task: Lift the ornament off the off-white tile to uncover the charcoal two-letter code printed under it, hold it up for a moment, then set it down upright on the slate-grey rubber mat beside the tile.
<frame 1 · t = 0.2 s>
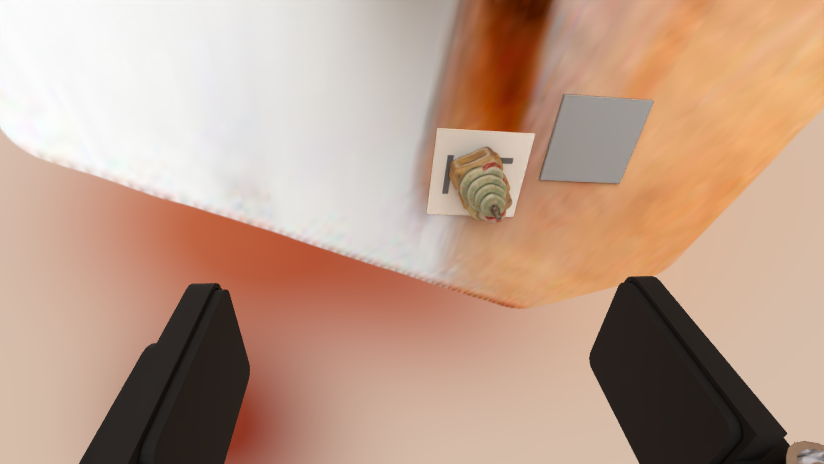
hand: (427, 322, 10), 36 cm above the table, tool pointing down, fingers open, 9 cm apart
grey mat: (592, 141, 48), on the table
code tile: (477, 175, 49), on the table
ornament: (477, 175, 49), resting on code tile
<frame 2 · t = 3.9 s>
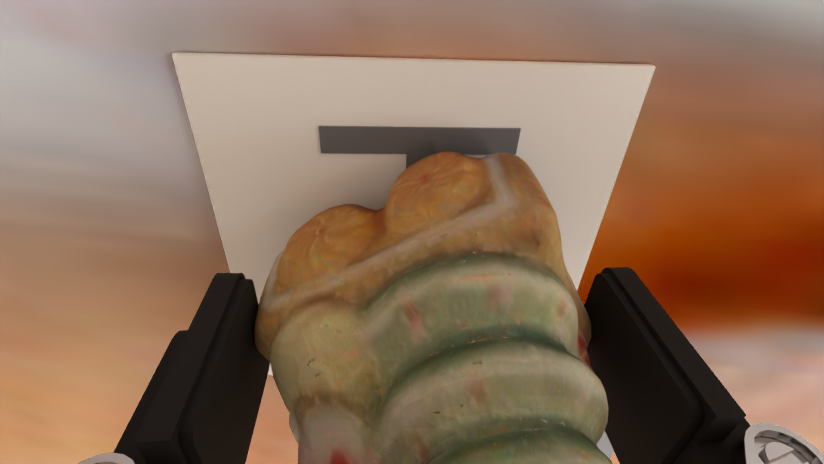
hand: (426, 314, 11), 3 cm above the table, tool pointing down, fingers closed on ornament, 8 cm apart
code tile: (414, 249, 13), on the table
ornament: (414, 251, 13), resting on code tile, touching gripper
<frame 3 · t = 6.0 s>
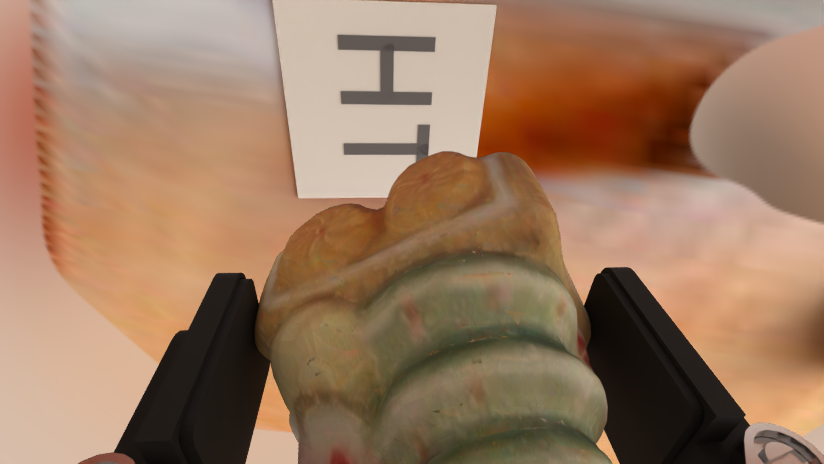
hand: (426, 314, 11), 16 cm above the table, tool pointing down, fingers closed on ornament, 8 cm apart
code tile: (386, 111, 24), on the table
ornament: (414, 250, 13), point 13 cm above the table, touching gripper
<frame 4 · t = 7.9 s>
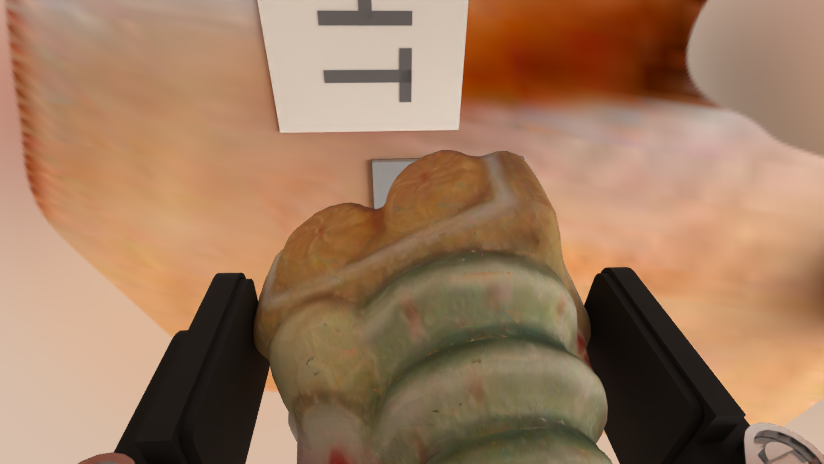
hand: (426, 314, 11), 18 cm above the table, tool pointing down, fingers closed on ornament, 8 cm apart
grey mat: (444, 221, 30), on the table
code tile: (366, 33, 23), on the table
ornament: (413, 250, 13), point 15 cm above the table, touching gripper
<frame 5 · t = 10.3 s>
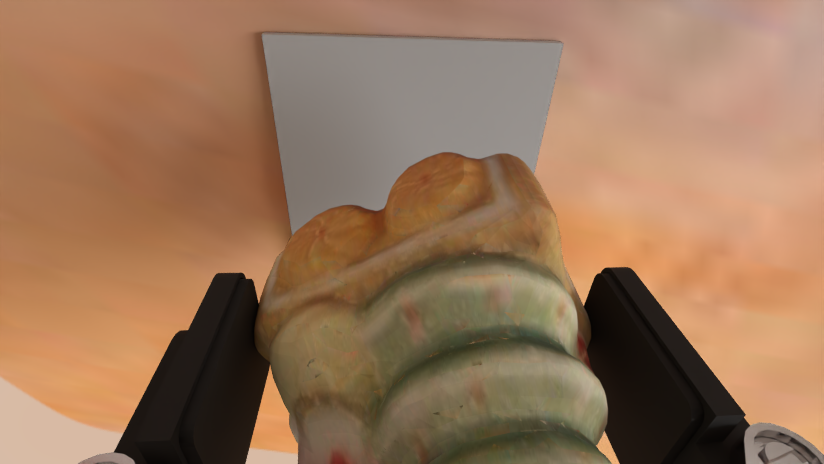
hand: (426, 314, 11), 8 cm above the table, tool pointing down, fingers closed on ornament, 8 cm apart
grey mat: (410, 170, 17), on the table
ornament: (414, 251, 13), point 5 cm above the table, touching gripper
when the fingers open (4 cm above the table, at t = 12.2 s): ornament drops 1 cm, resting on grey mat.
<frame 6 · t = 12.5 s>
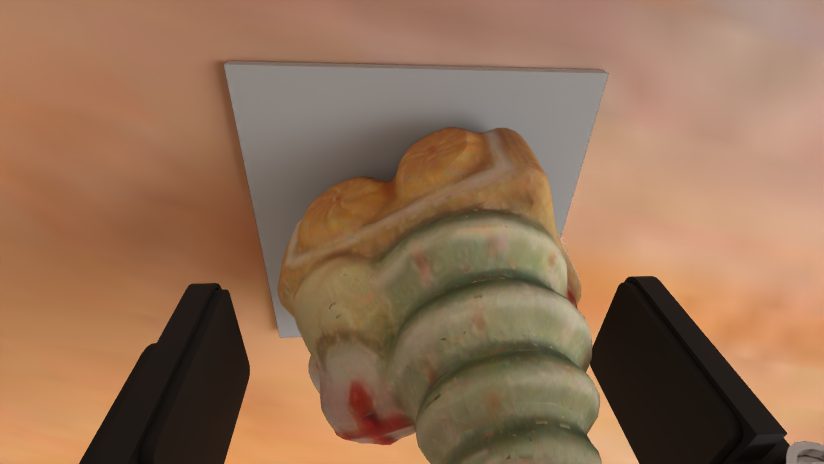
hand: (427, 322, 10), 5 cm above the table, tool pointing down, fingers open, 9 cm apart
grey mat: (414, 222, 14), on the table
ornament: (420, 223, 14), resting on grey mat
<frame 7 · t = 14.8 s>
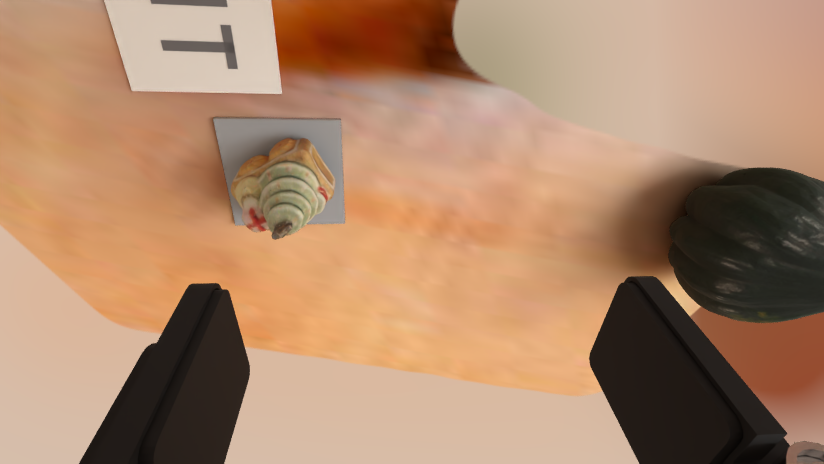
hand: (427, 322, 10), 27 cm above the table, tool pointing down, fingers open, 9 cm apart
grey mat: (285, 173, 37), on the table
squash: (711, 213, 45), on the table
code tile: (192, 12, 30), on the table
ornament: (287, 174, 37), resting on grey mat
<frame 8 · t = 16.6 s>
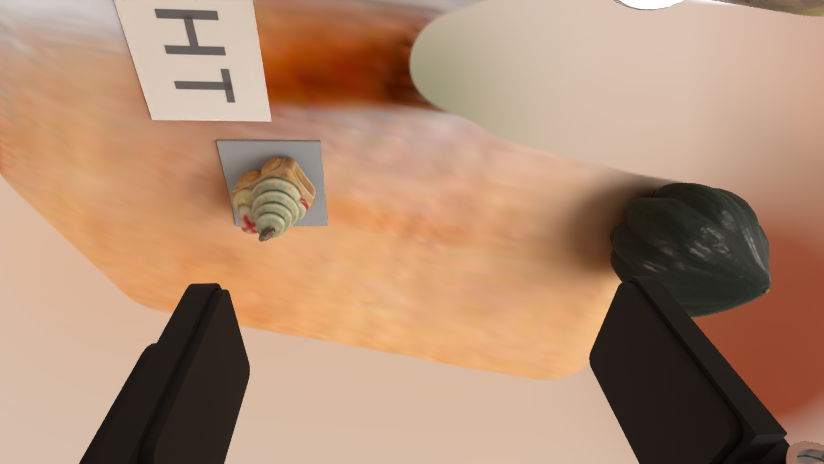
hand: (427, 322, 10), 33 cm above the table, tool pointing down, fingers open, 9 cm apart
grey mat: (276, 184, 45), on the table
squash: (652, 220, 51), on the table
code tile: (198, 59, 37), on the table
ornament: (277, 184, 44), resting on grey mat
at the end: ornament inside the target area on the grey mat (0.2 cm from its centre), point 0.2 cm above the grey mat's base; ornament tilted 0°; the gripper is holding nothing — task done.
